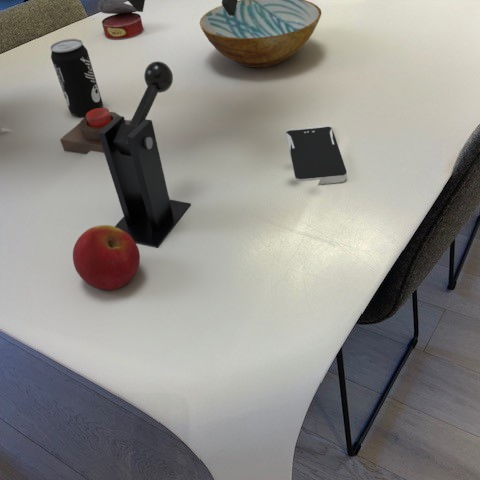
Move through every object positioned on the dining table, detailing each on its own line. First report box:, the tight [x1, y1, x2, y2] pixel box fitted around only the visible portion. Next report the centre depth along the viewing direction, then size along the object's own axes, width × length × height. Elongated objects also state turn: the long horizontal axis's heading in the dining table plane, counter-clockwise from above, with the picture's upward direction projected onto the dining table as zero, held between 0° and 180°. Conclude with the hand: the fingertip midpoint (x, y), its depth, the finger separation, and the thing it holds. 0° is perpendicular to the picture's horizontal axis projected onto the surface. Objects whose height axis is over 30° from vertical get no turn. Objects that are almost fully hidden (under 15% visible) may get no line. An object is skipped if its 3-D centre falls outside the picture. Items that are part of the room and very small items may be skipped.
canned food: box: [96, 0, 144, 41], centre depth 123 cm, size 11×10×10 cm
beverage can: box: [49, 38, 103, 118], centre depth 92 cm, size 7×7×12 cm
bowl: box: [199, 0, 323, 68], centre depth 104 cm, size 25×25×8 cm
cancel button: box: [86, 107, 112, 128], centre depth 84 cm, size 4×4×2 cm
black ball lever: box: [113, 61, 174, 156], centre depth 62 cm, size 13×4×4 cm, turn 158°
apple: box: [72, 224, 141, 291], centre depth 60 cm, size 8×8×8 cm
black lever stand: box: [98, 115, 192, 249], centre depth 65 cm, size 10×8×15 cm
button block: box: [59, 111, 131, 155], centre depth 86 cm, size 12×9×4 cm
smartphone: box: [285, 125, 348, 186], centre depth 78 cm, size 8×1×15 cm
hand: (180, 8), depth 64 cm, fingers open, 13 cm apart
